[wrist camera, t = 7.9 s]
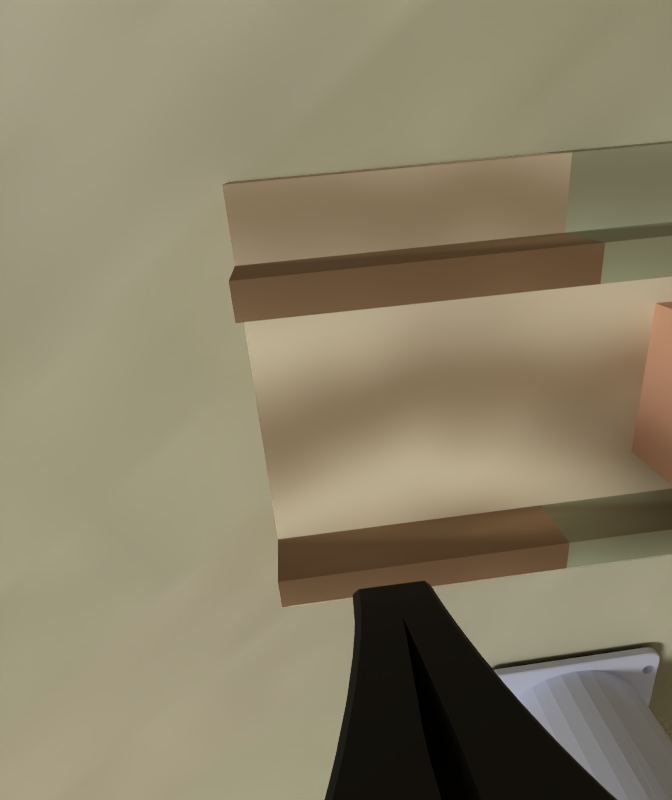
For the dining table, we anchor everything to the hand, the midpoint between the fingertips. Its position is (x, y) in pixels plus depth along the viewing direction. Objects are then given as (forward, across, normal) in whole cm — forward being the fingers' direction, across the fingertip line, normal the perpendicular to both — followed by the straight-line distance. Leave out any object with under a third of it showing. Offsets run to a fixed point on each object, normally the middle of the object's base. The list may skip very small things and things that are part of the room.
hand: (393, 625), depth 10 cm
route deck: (+9, -12, -1) cm, 15 cm away
